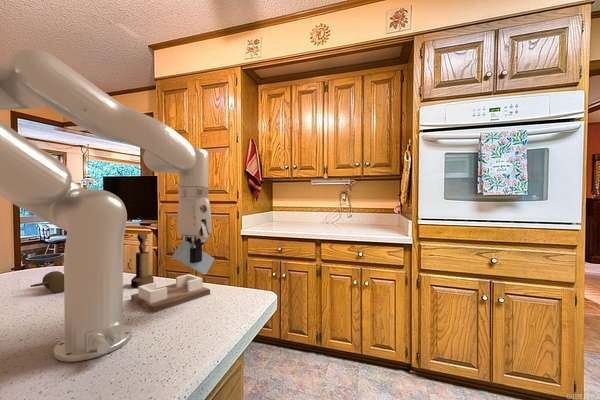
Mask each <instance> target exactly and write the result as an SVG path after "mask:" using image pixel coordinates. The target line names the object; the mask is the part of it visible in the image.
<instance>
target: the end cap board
mask: <svg viewBox="0 0 600 400" xmlns="http://www.w3.org/2000/svg"><path fill="white" fill-rule="evenodd" d="M164 287H167V299H163V300H160V301H157V302H153V303H149V302H147V301H145V300H143V299H141V298H140V297H138V293H134V294H131V295H130V300H131V301H132V302H133V303H135V304H137V305H139V306H141V307H142V308H144V309H146V310H147V311H149V312H151V313H158V312H160V311H163V310H166V309H170V308H172V307H175V306H179V305H181V304H184V303H185V304H186V303H187V302H191V301H194V300H196V299H199V298H200V299H201V298H202V297H205V296H209V295H211V289H210V288H208V287H205V286H202V288H200V289H197V290H193V291H190V292H188V291H187V285H184V286H181V287H176V282H175V283H172V284H167V285H164V286H161V287H158V288H157V287H156V289H160V288H164Z"/></svg>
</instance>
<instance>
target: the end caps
mask: <svg viewBox="0 0 600 400" xmlns="http://www.w3.org/2000/svg"><path fill="white" fill-rule="evenodd" d="M175 283H176V287H181V286H184V285H187V291H188V292H190V291H193V290H197V289H200V288H202V287H203V278H202V277H200V276H197V275H193V274H190V273H187V274H185V275H180V276H177V277H175ZM163 287H164V286H163ZM156 288H157V282H154V283H151V284H146V285H142V286H138V289H137V290H138V297H140V298H141V299H143V300H145V301H147V302H149V303H153V302H157V301H160V300H163V299H167V287H164V288H160V287H159V288H160V289H156Z"/></svg>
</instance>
